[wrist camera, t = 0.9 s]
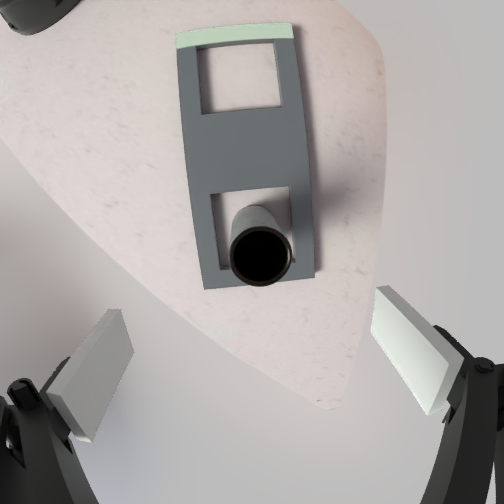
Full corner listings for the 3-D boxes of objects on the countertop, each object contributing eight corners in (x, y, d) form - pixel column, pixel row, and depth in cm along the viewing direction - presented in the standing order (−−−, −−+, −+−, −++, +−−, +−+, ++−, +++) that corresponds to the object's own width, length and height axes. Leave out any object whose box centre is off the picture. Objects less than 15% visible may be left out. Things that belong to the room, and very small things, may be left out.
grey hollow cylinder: (241, 198, 29) (241, 216, 19) (282, 214, 30) (302, 239, 20) (225, 238, 30) (219, 275, 20) (265, 253, 31) (277, 295, 21)
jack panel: (178, 38, 23) (175, 33, 22) (289, 28, 23) (291, 23, 22) (205, 285, 32) (203, 290, 30) (312, 273, 32) (314, 278, 30)
